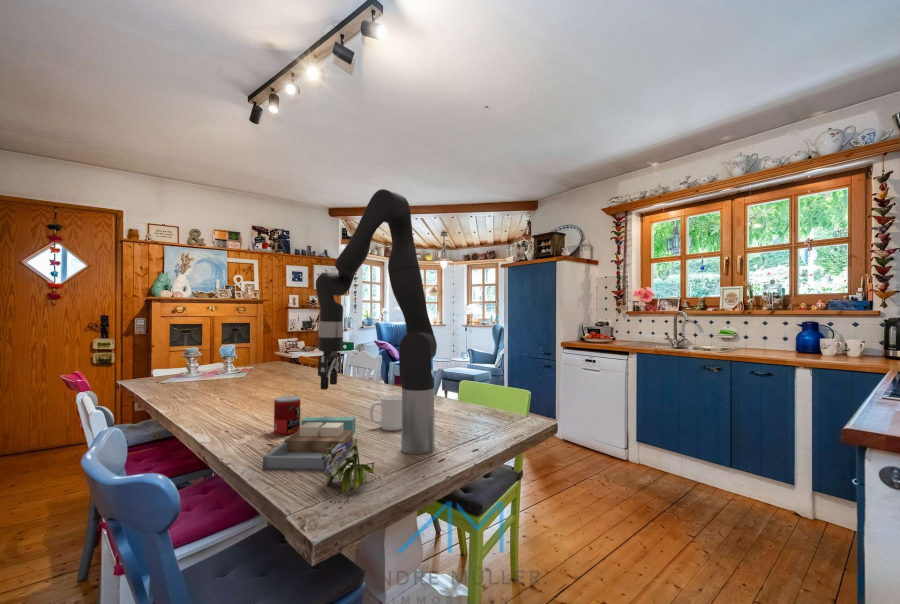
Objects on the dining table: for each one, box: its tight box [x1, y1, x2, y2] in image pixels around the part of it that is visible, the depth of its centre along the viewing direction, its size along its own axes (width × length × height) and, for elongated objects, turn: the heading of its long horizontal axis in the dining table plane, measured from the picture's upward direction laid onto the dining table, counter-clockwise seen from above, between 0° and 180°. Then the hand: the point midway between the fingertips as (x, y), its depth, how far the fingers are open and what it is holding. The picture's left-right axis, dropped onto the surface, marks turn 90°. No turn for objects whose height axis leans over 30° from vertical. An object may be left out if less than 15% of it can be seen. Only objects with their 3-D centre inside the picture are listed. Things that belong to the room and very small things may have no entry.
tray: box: [262, 441, 342, 472], centre depth 98 cm, size 16×11×3 cm
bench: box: [283, 430, 354, 452], centre depth 109 cm, size 16×10×4 cm, turn 88°
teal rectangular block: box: [300, 416, 356, 435], centre depth 122 cm, size 16×4×5 cm, turn 91°
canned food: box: [273, 395, 302, 437], centre depth 123 cm, size 8×8×11 cm
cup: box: [369, 394, 402, 431], centre depth 129 cm, size 8×12×10 cm
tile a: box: [320, 423, 344, 437], centre depth 110 cm, size 5×5×2 cm
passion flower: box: [321, 438, 376, 497], centre depth 85 cm, size 11×11×12 cm
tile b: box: [299, 422, 323, 436], centre depth 111 cm, size 5×5×2 cm
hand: (329, 386), depth 121 cm, fingers open, 8 cm apart
